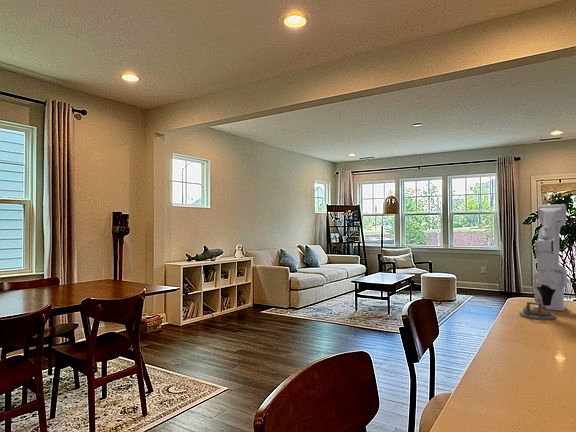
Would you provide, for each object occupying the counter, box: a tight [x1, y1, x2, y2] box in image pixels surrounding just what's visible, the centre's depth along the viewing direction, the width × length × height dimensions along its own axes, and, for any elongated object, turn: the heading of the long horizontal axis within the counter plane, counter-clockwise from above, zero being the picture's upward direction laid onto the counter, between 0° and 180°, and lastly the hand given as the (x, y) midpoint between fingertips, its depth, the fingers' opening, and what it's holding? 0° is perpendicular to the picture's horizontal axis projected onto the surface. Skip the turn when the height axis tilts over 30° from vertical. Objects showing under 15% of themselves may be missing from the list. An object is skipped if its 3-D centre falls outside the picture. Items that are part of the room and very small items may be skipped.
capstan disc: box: [522, 299, 552, 315], centre depth 158 cm, size 9×9×5 cm
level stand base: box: [518, 301, 557, 321], centre depth 158 cm, size 12×12×6 cm
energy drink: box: [533, 273, 542, 303], centre depth 188 cm, size 5×5×12 cm
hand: (546, 305), depth 158 cm, fingers closed
